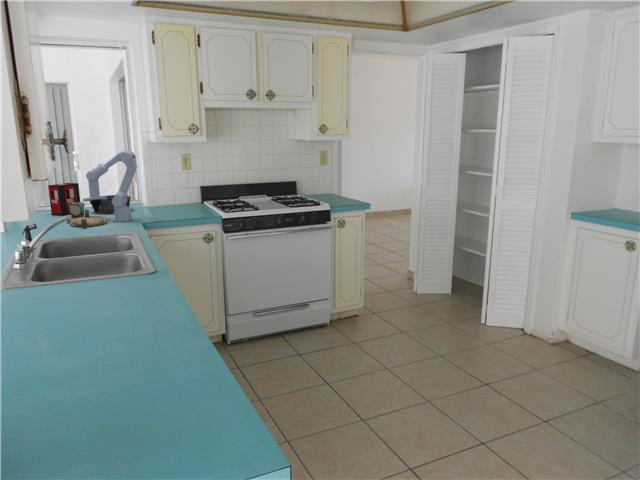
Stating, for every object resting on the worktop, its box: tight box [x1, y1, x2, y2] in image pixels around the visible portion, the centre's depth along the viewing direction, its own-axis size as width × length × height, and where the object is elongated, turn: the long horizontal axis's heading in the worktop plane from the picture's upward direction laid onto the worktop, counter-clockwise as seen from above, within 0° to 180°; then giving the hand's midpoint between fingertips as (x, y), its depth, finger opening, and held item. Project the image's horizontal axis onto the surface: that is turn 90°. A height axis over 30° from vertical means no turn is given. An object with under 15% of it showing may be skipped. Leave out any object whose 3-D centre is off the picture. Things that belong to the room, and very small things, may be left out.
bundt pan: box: [93, 194, 132, 215], centre depth 341 cm, size 26×26×10 cm
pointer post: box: [81, 219, 88, 230], centre depth 287 cm, size 4×2×5 cm, turn 15°
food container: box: [69, 201, 86, 219], centre depth 316 cm, size 12×6×10 cm, turn 59°
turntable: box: [69, 209, 108, 228], centre depth 297 cm, size 20×20×7 cm
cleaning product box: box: [47, 182, 81, 217], centre depth 331 cm, size 16×9×20 cm, turn 161°
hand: (96, 211), depth 308 cm, fingers closed
